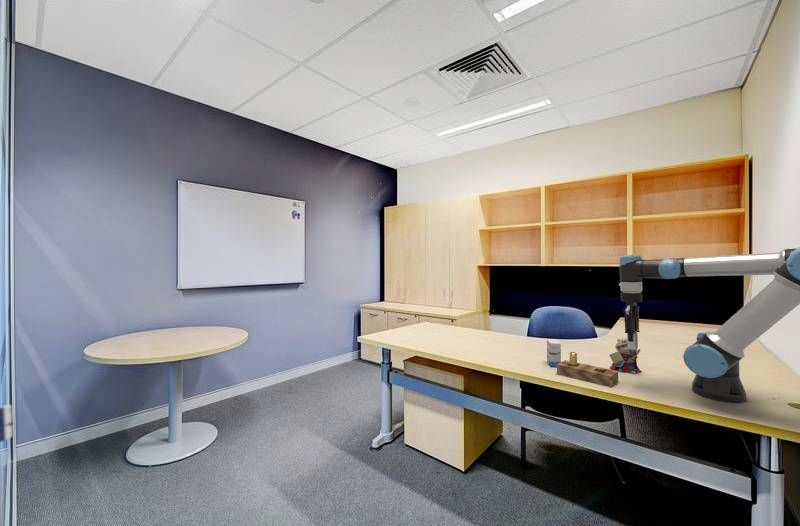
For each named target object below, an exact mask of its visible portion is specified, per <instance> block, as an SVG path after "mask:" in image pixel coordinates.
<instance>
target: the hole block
mask: <svg viewBox="0 0 800 526" xmlns="http://www.w3.org/2000/svg"><path fill="white" fill-rule="evenodd" d="M556 374H557V375H559V376H564V377H568V378H572V379H574V380H575V379H576V380H581V381H585V382H589V383H592V384H596V385H600V386H603V387H604V386H605V387H609V388H612V387H613V386H616V385H617V383H619V370H616V369H614V370H611V369H610V368H605V367H600V366H595V365H592V364H591V365H590V364H585V363H580V362H577V367H574V366H570V360H563V361H561V363H559V364H557V367H556Z"/></svg>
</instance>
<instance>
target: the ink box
mask: <svg viewBox="0 0 800 526" xmlns="http://www.w3.org/2000/svg"><path fill="white" fill-rule="evenodd" d="M561 347H562V345H561V342H559V341H558V340H557V339H546V362H547V363H548V365H549V367H551V368H557V364H559V363H561V362H562V352H561V351H562V349H561Z"/></svg>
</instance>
